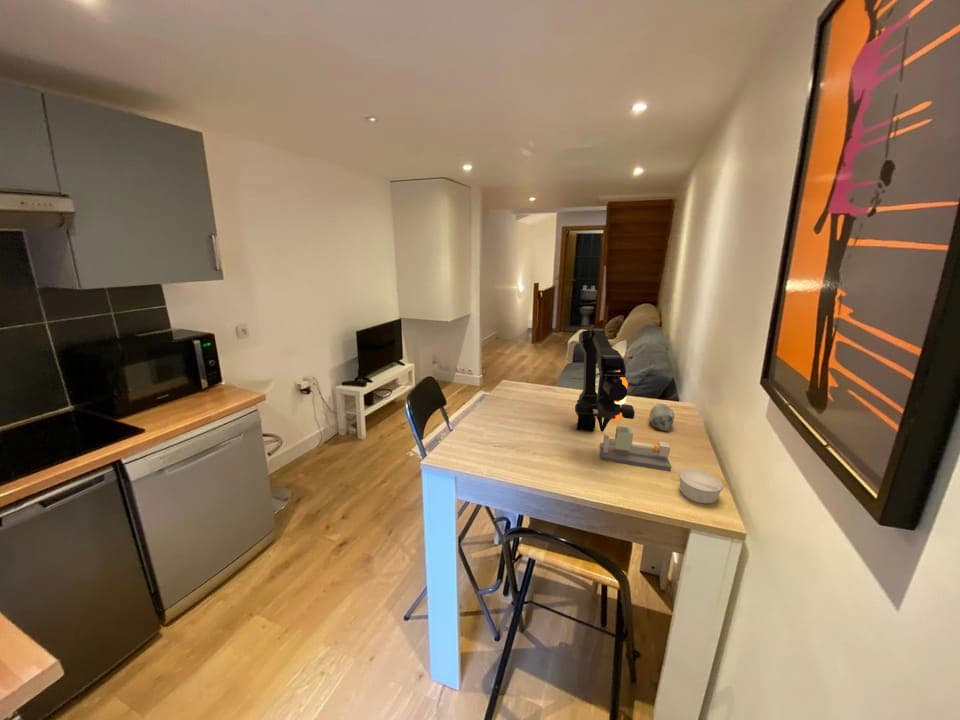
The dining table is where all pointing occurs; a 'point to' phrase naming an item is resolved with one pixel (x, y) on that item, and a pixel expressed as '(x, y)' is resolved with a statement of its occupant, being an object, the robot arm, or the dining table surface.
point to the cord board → (637, 454)
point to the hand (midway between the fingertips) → (601, 431)
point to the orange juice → (621, 400)
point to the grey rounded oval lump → (662, 417)
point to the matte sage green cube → (623, 438)
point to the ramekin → (700, 485)
